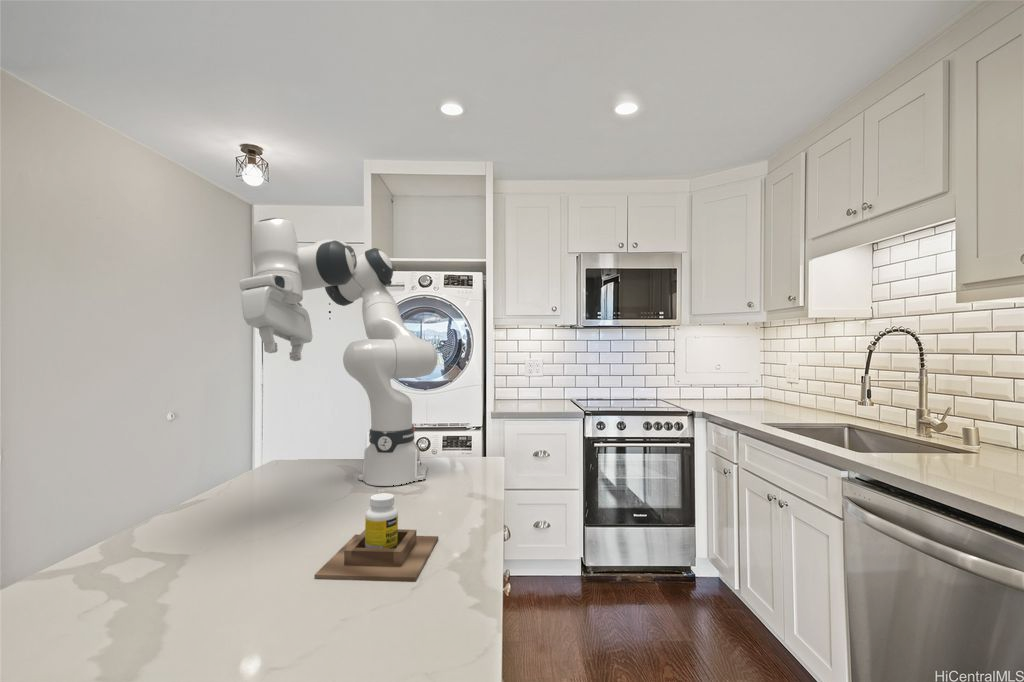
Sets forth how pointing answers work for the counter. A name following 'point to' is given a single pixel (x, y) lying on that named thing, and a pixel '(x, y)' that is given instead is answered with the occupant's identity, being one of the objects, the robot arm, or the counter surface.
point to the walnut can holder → (380, 559)
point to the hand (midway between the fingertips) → (284, 356)
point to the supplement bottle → (381, 522)
